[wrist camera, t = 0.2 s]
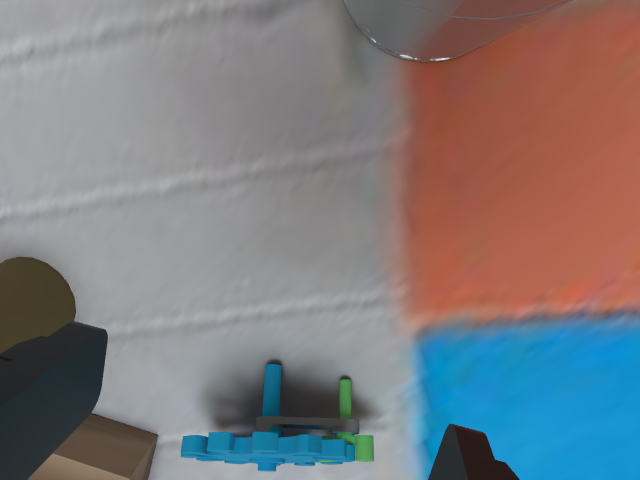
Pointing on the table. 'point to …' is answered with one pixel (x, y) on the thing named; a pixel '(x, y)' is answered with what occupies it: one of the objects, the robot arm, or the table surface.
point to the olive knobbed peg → (32, 301)
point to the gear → (276, 449)
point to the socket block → (100, 453)
